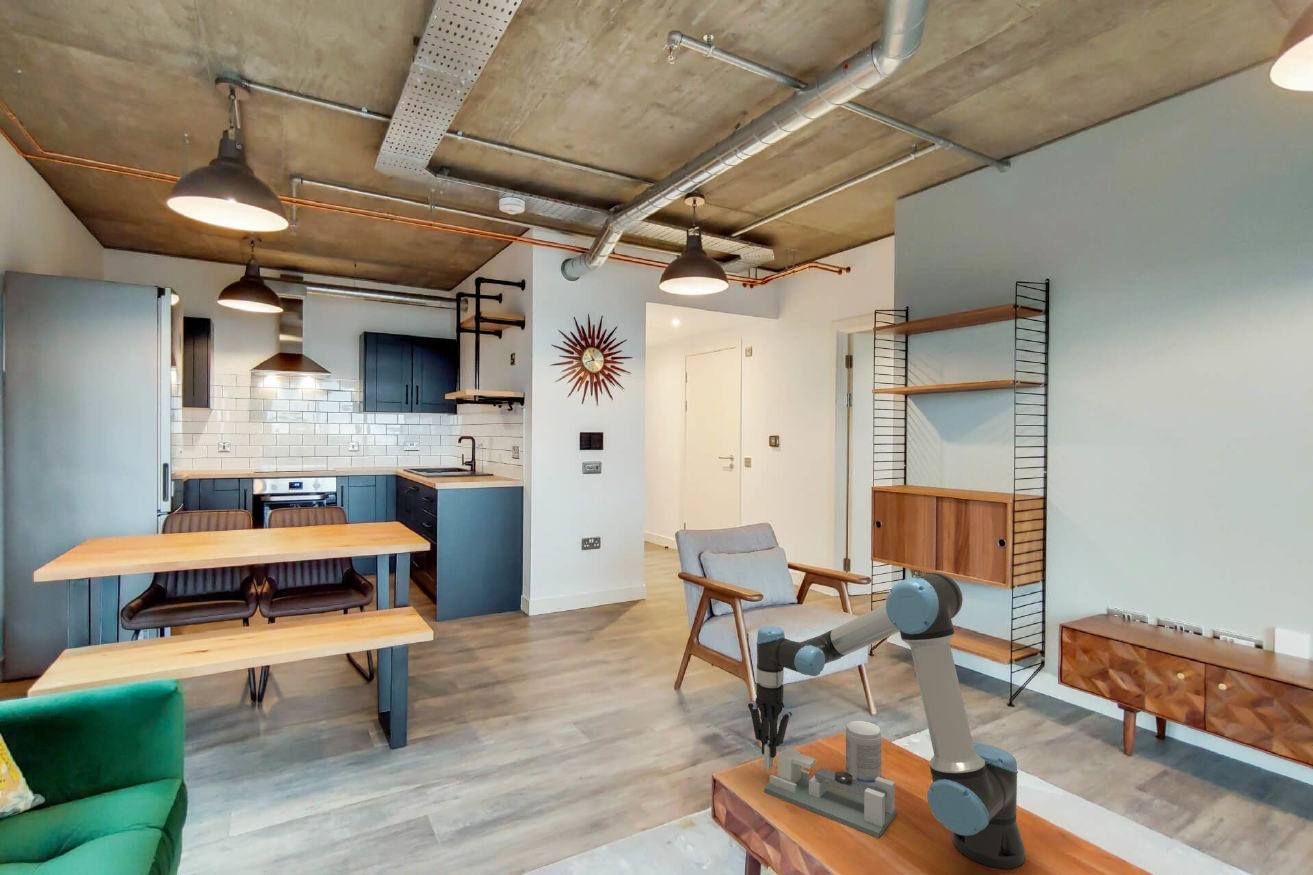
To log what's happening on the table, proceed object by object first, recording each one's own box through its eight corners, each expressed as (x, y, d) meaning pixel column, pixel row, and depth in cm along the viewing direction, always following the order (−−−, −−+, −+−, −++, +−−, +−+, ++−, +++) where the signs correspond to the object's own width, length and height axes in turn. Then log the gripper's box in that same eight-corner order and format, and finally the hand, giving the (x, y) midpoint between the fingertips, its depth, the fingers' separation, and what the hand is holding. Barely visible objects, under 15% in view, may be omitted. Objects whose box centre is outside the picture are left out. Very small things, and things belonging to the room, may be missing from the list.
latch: (817, 785, 175) (817, 757, 175) (807, 794, 170) (808, 766, 170) (787, 774, 180) (787, 747, 181) (777, 782, 176) (777, 755, 176)
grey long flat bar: (886, 796, 162) (887, 787, 162) (880, 804, 159) (880, 794, 159) (821, 772, 173) (822, 763, 173) (814, 778, 170) (814, 769, 170)
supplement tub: (887, 780, 180) (888, 728, 181) (870, 792, 174) (871, 738, 174) (855, 767, 187) (856, 717, 188) (838, 779, 181) (839, 726, 181)
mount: (896, 814, 164) (897, 781, 164) (878, 837, 154) (879, 802, 154) (786, 773, 183) (787, 743, 183) (764, 792, 173) (764, 760, 173)
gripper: (797, 685, 180) (795, 769, 180) (756, 674, 188) (755, 754, 188) (784, 692, 174) (783, 780, 174) (743, 681, 182) (741, 764, 182)
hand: (768, 767), depth 181 cm, fingers closed
